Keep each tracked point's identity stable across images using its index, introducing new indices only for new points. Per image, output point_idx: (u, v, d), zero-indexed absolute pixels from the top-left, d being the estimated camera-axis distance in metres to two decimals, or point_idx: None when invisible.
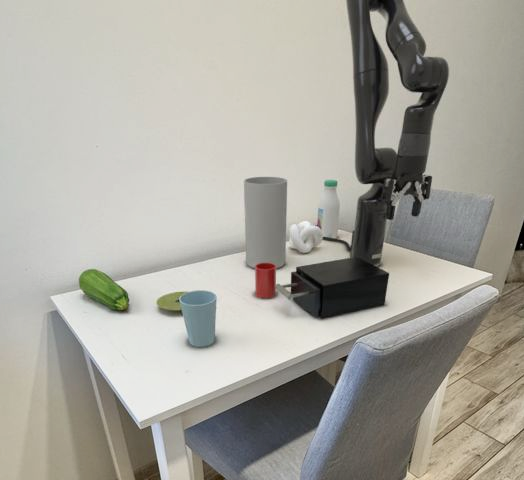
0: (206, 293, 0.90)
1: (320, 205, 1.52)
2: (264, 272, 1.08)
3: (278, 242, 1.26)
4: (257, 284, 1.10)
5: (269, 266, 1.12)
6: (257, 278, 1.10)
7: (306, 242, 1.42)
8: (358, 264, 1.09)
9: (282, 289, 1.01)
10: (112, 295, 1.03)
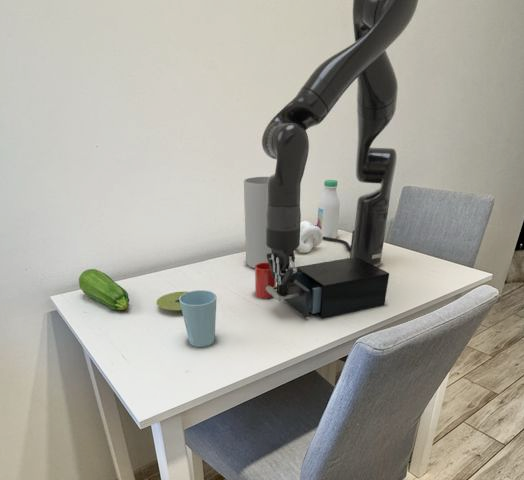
0: (206, 293, 0.90)
1: (320, 205, 1.52)
2: (264, 272, 1.08)
3: None
4: (257, 284, 1.10)
5: None
6: (257, 278, 1.10)
7: (306, 242, 1.42)
8: (358, 264, 1.09)
9: (272, 291, 1.00)
10: (112, 295, 1.03)
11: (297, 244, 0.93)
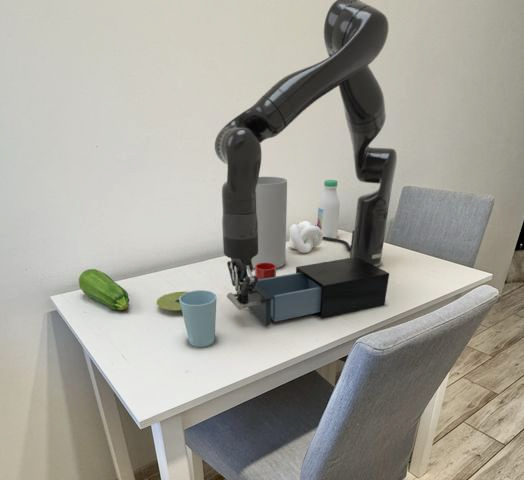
0: (206, 293, 0.90)
1: (320, 205, 1.52)
2: (264, 272, 1.08)
3: (278, 242, 1.26)
4: None
5: (269, 266, 1.12)
6: None
7: (306, 242, 1.42)
8: (358, 264, 1.09)
9: (233, 298, 0.97)
10: (112, 295, 1.03)
11: (255, 252, 0.90)
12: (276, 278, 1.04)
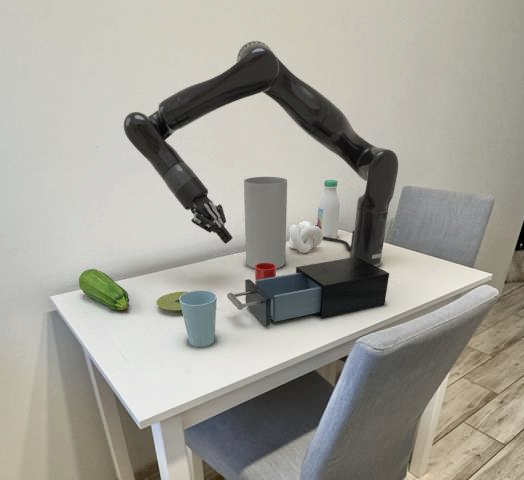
0: (206, 293, 0.90)
1: (320, 205, 1.52)
2: (264, 272, 1.08)
3: (278, 242, 1.26)
4: None
5: (269, 266, 1.12)
6: (257, 278, 1.10)
7: (306, 242, 1.42)
8: (358, 264, 1.09)
9: (233, 298, 0.97)
10: (112, 295, 1.03)
11: (193, 195, 1.04)
12: (276, 278, 1.04)
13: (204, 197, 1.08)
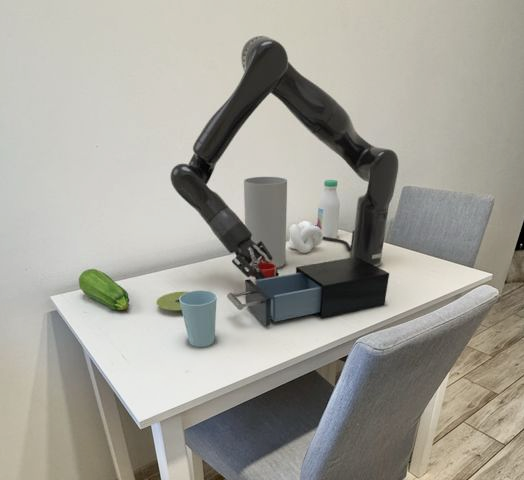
0: (206, 293, 0.90)
1: (320, 205, 1.52)
2: (264, 272, 1.08)
3: (278, 242, 1.26)
4: None
5: (269, 266, 1.12)
6: None
7: (306, 242, 1.42)
8: (358, 264, 1.09)
9: (233, 298, 0.97)
10: (112, 295, 1.03)
11: (238, 240, 1.06)
12: (276, 278, 1.04)
13: (248, 240, 1.10)
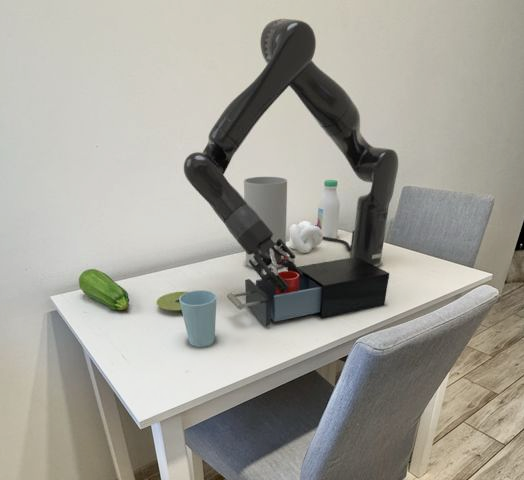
0: (206, 293, 0.90)
1: (320, 205, 1.52)
2: (286, 282, 0.97)
3: None
4: None
5: (291, 274, 1.01)
6: None
7: (306, 242, 1.42)
8: (358, 264, 1.09)
9: (233, 298, 0.97)
10: (112, 295, 1.03)
11: (258, 240, 0.94)
12: None
13: (268, 240, 0.98)
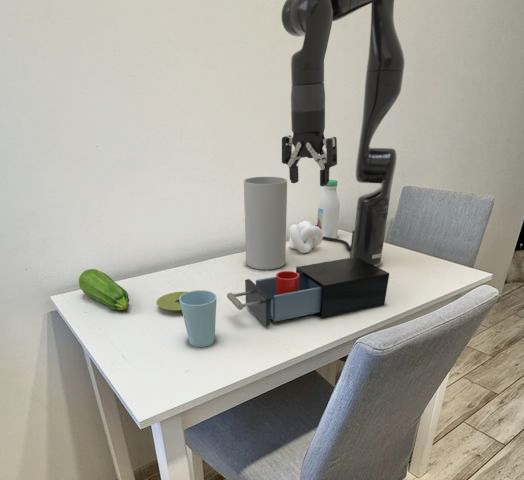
0: (206, 293, 0.90)
1: (320, 205, 1.52)
2: (286, 282, 0.97)
3: (278, 242, 1.26)
4: None
5: (291, 274, 1.01)
6: (278, 288, 0.99)
7: (306, 242, 1.42)
8: (358, 264, 1.09)
9: (233, 298, 0.97)
10: (112, 295, 1.03)
11: (324, 125, 0.95)
12: None
13: None
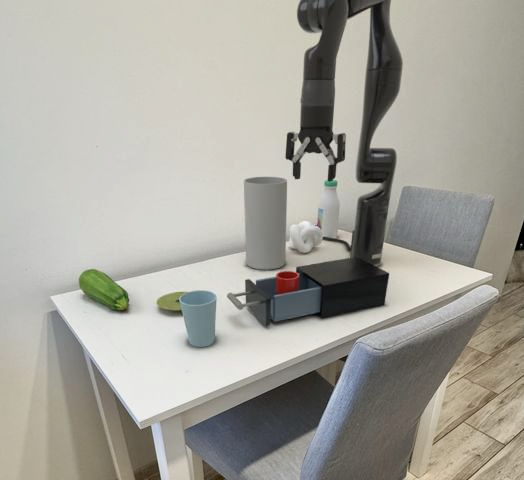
0: (206, 293, 0.90)
1: (320, 205, 1.52)
2: (286, 282, 0.97)
3: (278, 242, 1.26)
4: None
5: (291, 274, 1.01)
6: (278, 288, 0.99)
7: (306, 242, 1.42)
8: (358, 264, 1.09)
9: (233, 298, 0.97)
10: (112, 295, 1.03)
11: None
12: None
13: None
